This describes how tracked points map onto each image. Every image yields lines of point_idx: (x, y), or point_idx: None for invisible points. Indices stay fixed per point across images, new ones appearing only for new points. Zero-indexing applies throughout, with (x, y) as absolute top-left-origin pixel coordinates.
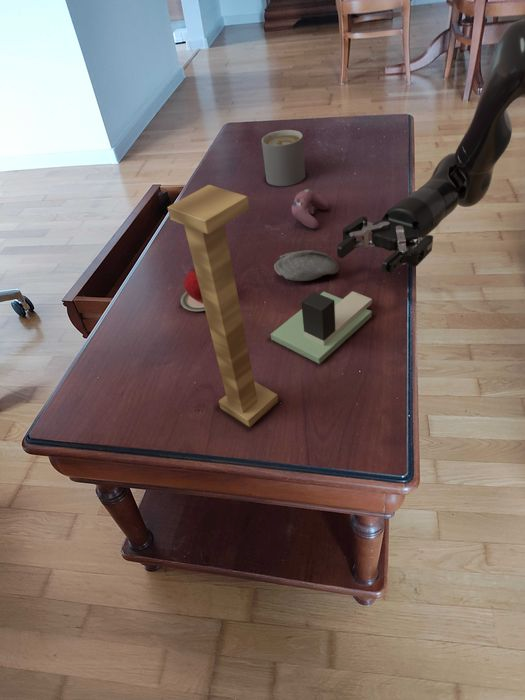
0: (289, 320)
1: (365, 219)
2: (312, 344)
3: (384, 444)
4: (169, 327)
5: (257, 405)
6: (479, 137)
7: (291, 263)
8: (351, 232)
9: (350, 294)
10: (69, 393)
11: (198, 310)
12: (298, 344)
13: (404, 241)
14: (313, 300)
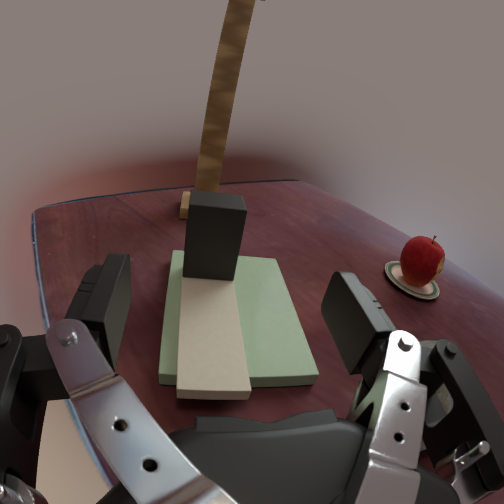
0: (283, 286)
1: (498, 463)
2: None
3: (54, 218)
4: (374, 246)
5: (188, 199)
6: None
7: (428, 345)
8: (419, 347)
9: (243, 376)
10: (329, 196)
11: (387, 264)
12: None
13: (76, 392)
14: (224, 198)
